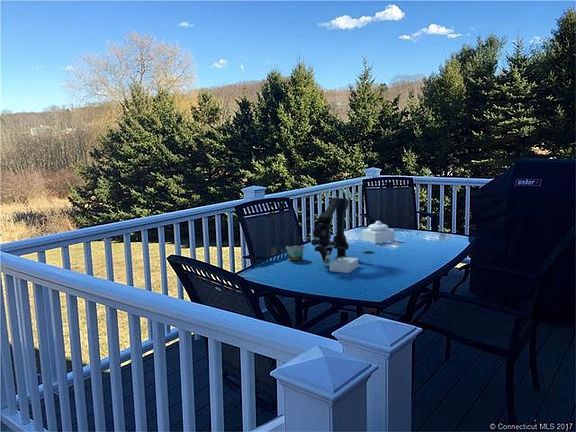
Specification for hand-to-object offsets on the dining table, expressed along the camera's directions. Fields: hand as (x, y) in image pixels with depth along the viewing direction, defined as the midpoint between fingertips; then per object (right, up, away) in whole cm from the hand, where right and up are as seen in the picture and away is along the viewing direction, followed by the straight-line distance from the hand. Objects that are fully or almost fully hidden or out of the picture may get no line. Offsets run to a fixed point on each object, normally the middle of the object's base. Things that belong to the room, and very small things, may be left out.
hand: (325, 259), depth 292 cm
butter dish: (+45, +8, +67) cm, 82 cm away
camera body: (+10, -5, -7) cm, 14 cm away
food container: (-18, -2, +15) cm, 24 cm away
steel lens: (0, -2, 0) cm, 2 cm away
